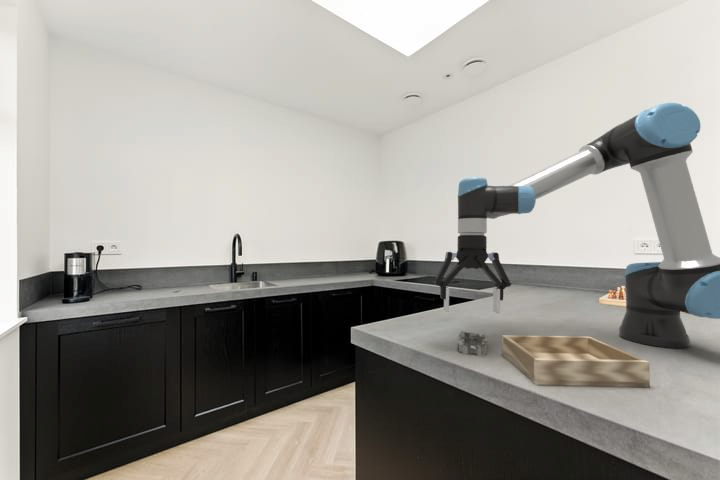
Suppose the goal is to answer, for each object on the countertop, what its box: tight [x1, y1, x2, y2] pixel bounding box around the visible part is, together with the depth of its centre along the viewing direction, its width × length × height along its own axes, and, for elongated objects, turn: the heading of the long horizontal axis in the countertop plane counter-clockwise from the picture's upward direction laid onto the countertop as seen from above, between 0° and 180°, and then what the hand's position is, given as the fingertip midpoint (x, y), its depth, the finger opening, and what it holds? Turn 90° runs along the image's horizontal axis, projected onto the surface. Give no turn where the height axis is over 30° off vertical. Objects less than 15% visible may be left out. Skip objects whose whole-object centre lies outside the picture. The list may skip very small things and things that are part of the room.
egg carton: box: [456, 330, 488, 357], centre depth 83 cm, size 11×8×4 cm
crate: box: [501, 334, 651, 388], centre depth 70 cm, size 22×17×5 cm
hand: (471, 311), depth 84 cm, fingers open, 13 cm apart
